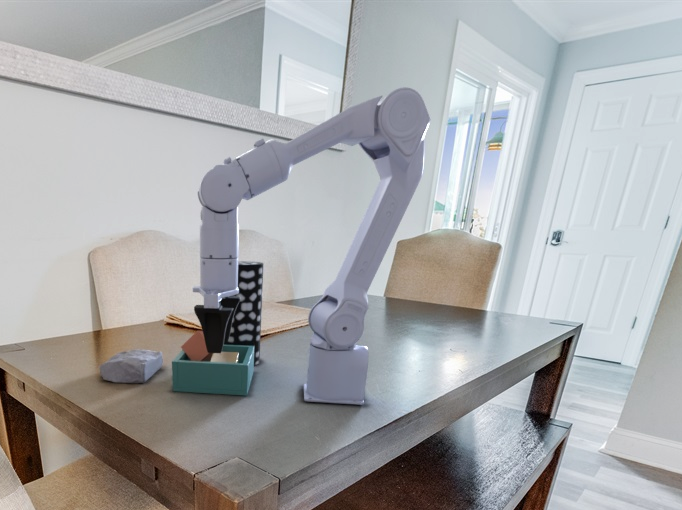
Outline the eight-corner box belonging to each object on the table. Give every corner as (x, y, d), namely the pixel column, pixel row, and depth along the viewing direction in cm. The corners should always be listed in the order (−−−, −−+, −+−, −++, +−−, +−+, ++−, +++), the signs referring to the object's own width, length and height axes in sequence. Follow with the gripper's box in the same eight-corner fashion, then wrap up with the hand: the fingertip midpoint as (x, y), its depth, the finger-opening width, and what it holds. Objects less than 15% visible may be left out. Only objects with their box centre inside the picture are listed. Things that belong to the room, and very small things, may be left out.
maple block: (238, 374, 84) (238, 352, 81) (236, 386, 80) (236, 363, 78) (213, 373, 84) (213, 351, 82) (210, 385, 80) (209, 362, 78)
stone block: (98, 390, 85) (148, 383, 83) (91, 365, 84) (142, 357, 81) (123, 373, 96) (167, 366, 94) (117, 350, 95) (162, 343, 92)
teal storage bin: (253, 372, 90) (254, 345, 88) (247, 395, 78) (248, 365, 76) (188, 369, 92) (188, 342, 90) (172, 391, 80) (171, 361, 78)
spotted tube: (266, 359, 99) (270, 262, 91) (247, 369, 92) (250, 265, 85) (232, 353, 103) (234, 260, 96) (212, 362, 96) (213, 263, 89)
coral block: (221, 349, 85) (207, 331, 86) (213, 349, 81) (197, 330, 82) (204, 365, 87) (190, 347, 87) (195, 366, 82) (180, 346, 83)
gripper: (202, 254, 76) (202, 335, 81) (181, 260, 63) (183, 357, 68) (244, 254, 75) (242, 336, 80) (233, 261, 62) (231, 359, 67)
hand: (218, 346), depth 74 cm, fingers open, 7 cm apart
